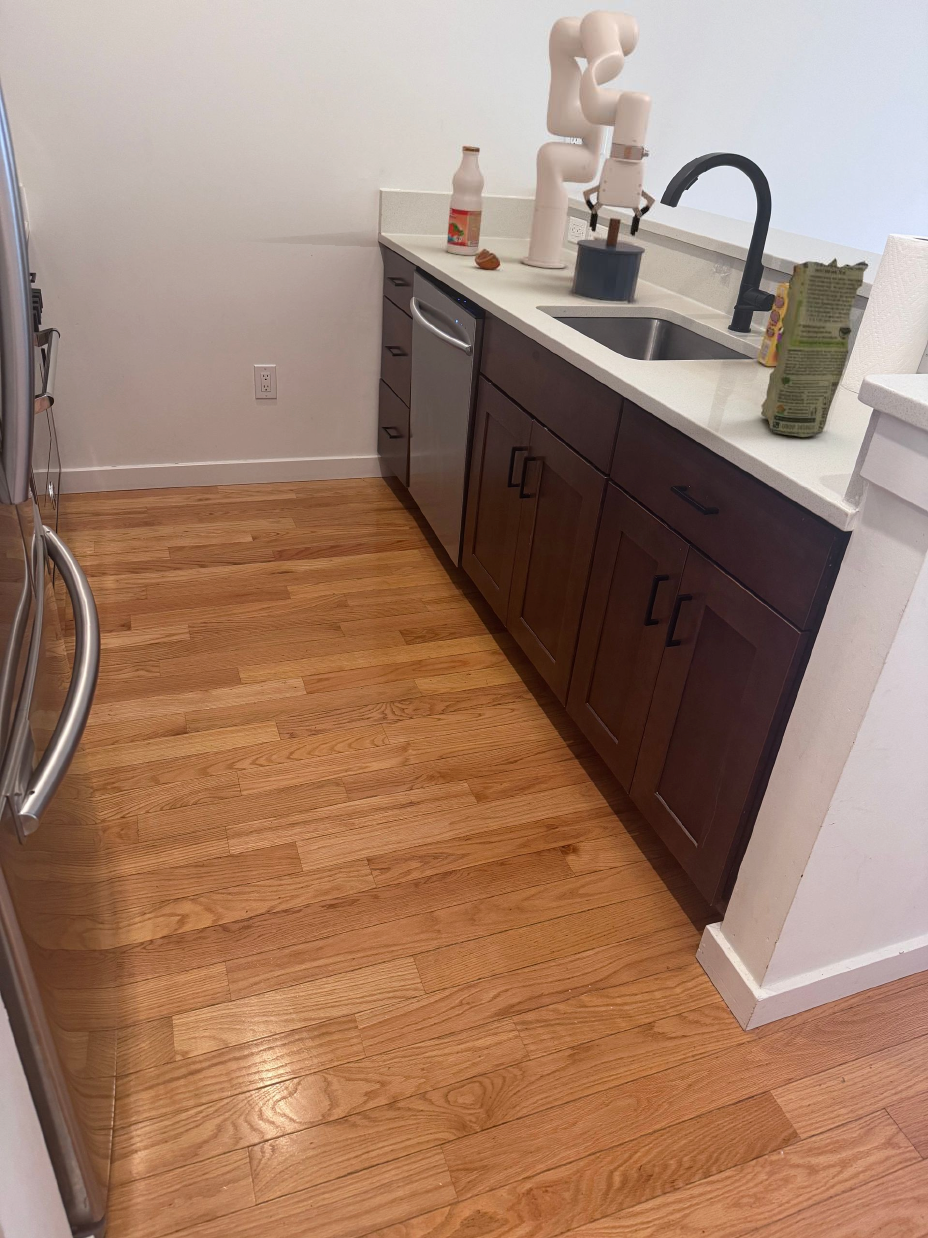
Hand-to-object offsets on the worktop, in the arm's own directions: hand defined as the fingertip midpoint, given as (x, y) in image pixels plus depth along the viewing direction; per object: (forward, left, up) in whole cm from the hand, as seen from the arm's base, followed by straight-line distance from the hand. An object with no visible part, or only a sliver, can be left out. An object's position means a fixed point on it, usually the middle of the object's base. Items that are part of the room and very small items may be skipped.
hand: (612, 232), depth 213 cm
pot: (0, 0, -15) cm, 15 cm away
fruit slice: (-22, -29, -15) cm, 39 cm away
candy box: (+55, +29, -15) cm, 64 cm away
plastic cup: (-16, +3, -15) cm, 22 cm away
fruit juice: (-49, -36, -15) cm, 62 cm away
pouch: (+97, +17, -15) cm, 100 cm away
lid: (0, 0, -3) cm, 3 cm away
